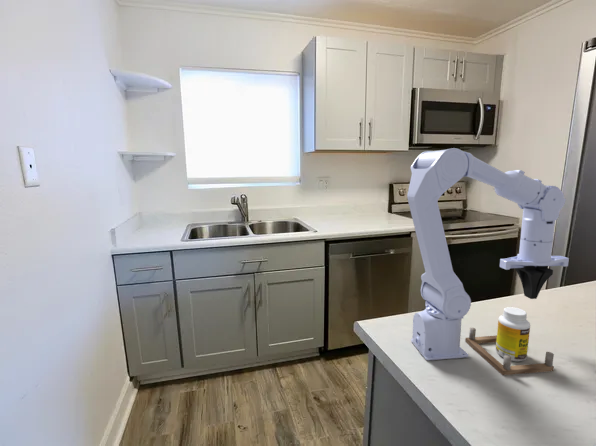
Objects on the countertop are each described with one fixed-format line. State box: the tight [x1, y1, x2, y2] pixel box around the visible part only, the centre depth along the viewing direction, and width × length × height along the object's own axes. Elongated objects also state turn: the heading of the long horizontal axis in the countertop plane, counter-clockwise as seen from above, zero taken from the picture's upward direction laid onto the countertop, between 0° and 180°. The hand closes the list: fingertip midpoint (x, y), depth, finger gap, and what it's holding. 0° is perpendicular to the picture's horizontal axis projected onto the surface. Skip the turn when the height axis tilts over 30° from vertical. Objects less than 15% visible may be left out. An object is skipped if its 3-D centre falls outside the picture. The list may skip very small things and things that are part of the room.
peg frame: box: [464, 327, 555, 376], centre depth 66 cm, size 11×12×4 cm
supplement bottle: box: [495, 306, 531, 362], centre depth 66 cm, size 6×6×10 cm
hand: (530, 297), depth 71 cm, fingers closed
